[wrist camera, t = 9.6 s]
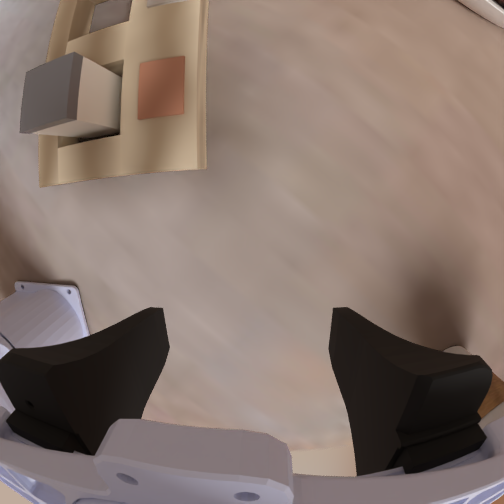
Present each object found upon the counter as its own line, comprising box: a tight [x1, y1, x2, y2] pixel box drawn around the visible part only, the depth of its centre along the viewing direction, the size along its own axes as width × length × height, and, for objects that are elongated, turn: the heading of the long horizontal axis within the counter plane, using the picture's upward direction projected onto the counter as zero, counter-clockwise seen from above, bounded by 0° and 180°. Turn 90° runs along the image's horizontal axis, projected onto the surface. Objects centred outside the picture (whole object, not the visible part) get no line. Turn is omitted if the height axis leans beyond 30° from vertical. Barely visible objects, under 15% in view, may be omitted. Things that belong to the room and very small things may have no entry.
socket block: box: [38, 0, 209, 188], centre depth 16 cm, size 13×20×3 cm, turn 1°
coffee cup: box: [443, 346, 504, 429], centre depth 17 cm, size 8×8×15 cm
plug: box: [20, 52, 122, 139], centre depth 15 cm, size 4×4×8 cm
